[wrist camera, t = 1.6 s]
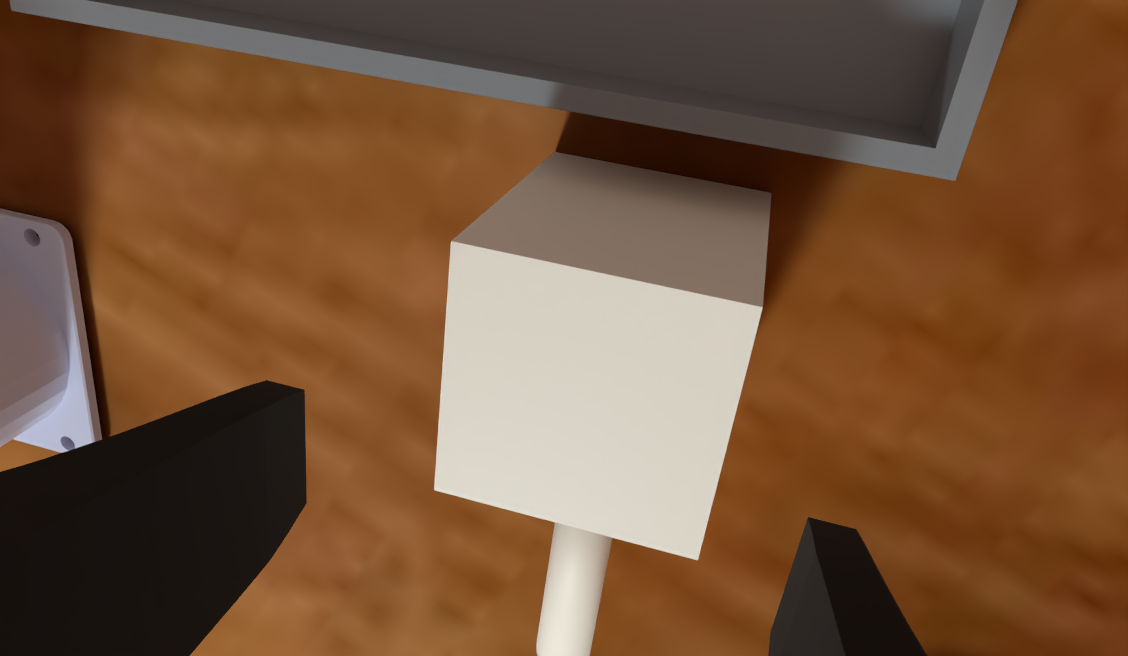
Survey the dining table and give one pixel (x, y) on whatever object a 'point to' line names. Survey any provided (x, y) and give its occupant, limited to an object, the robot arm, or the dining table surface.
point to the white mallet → (599, 363)
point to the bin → (643, 60)
